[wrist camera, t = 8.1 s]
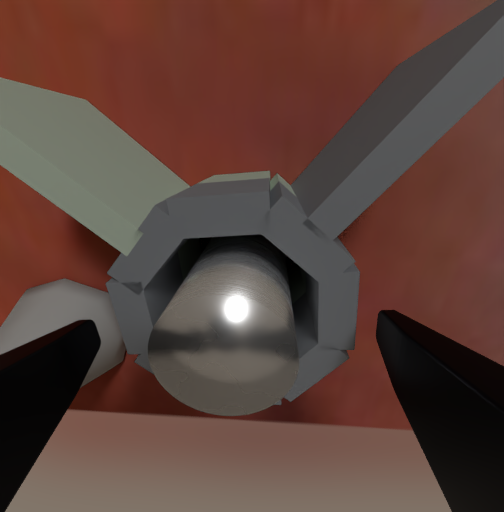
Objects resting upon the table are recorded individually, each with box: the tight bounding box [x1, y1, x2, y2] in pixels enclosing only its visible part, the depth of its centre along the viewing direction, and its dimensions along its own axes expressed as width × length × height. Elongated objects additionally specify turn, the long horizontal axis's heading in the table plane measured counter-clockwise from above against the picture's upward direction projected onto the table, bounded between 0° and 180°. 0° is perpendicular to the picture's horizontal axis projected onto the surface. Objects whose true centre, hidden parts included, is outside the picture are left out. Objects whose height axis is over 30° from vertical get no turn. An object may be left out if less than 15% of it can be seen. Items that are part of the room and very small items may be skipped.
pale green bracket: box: [0, 78, 306, 304], centre depth 11 cm, size 15×8×7 cm, turn 50°
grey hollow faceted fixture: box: [106, 0, 504, 405], centre depth 11 cm, size 15×8×7 cm, turn 140°
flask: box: [0, 278, 126, 388], centre depth 14 cm, size 7×7×10 cm
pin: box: [148, 234, 299, 416], centre depth 11 cm, size 4×4×9 cm
